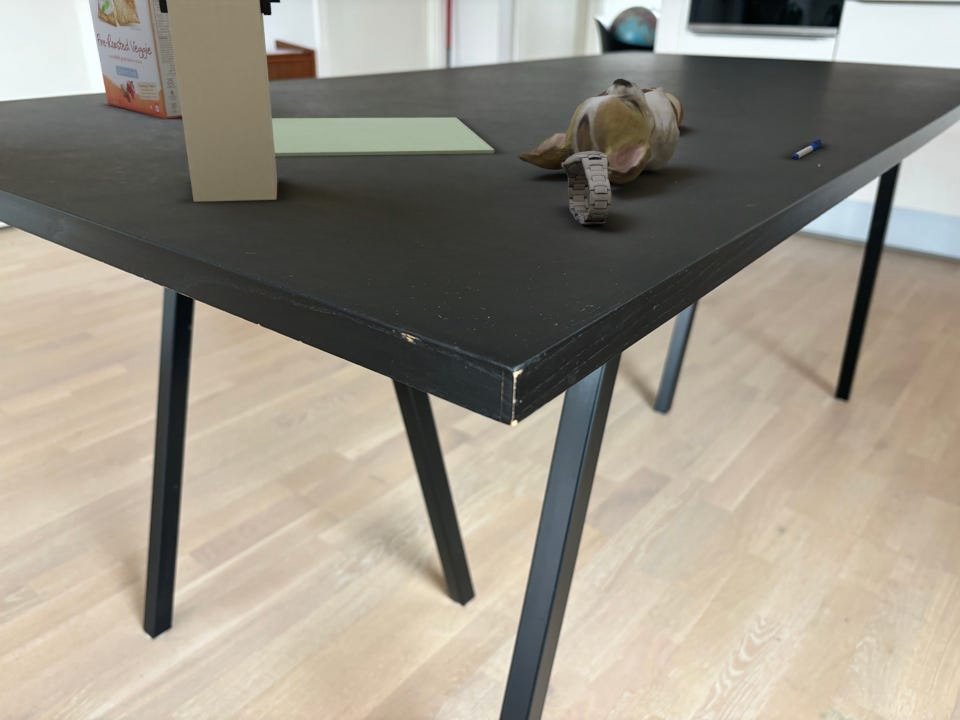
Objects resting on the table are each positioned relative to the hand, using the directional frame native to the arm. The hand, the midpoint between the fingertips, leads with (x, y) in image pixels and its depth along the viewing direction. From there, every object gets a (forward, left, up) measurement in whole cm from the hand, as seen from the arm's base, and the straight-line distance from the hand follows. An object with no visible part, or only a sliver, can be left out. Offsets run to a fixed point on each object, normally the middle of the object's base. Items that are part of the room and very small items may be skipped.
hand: (217, 10), depth 55 cm
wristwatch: (+25, -11, -13) cm, 30 cm away
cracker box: (-12, +42, -13) cm, 46 cm away
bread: (+45, +27, -13) cm, 54 cm away
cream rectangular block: (0, 0, -13) cm, 13 cm away
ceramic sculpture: (+32, +2, -13) cm, 35 cm away
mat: (+10, +23, -13) cm, 28 cm away
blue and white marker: (+58, +11, -13) cm, 61 cm away
